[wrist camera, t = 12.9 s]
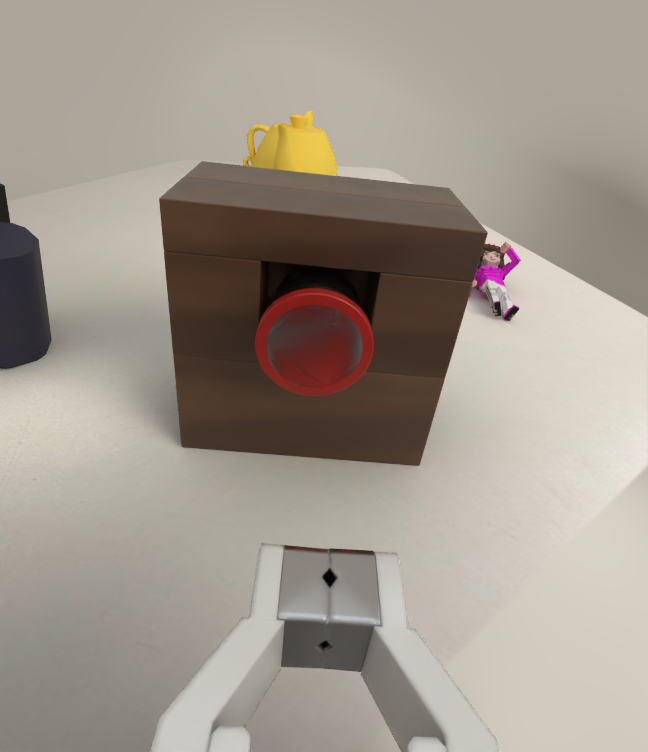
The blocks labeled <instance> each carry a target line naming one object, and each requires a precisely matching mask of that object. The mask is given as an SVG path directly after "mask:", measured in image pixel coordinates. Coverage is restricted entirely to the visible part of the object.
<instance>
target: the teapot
mask: <svg viewBox="0 0 648 752" xmlns="http://www.w3.org/2000/svg"><path fill="white" fill-rule="evenodd" d="M290 120H291V124H287V123H281V124H273V125H272V126H271V127H270V128H269V127H267V126H265V125H262V124H259V125H255V126H253V127H252V128H250V130H249V131H248V134H247V143H248V149H249V153H250V157H249V156H248V157H246V158H245V159H244V161H243V166H249V167H258V168H267V169H277V170H286V171H295V172H304V173H313V174H323V175H332V176H337V166H336V160H335V156H334V153H333V150H332V147H331V145H330V143H329V140H328V138H327V136H326V134H325V132H324V131H323V130H322V129H320V128H317V127H313V112H311V111H308V112H307V113H306V114H305V116H304V115H296V114H292V115H290ZM257 130H261V131H264V132H266V135H265V136H264V138H263V140H262V141H261V144H260V145H259V147H258V149H257V152H255V148H254V141H253V136H254V132H255V131H257ZM249 160H250V161H251V163H252V165H251V166H250V165H249V164H248V161H249Z"/></svg>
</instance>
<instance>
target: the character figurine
mask: <svg viewBox="0 0 648 752" xmlns="http://www.w3.org/2000/svg"><path fill="white" fill-rule="evenodd" d="M505 253H507V255H508V256H509V258H510V259H511V260H512V262H511V263H510V262H509V263H507V264H506V265H504V255H505ZM519 261H521V260H520V259H519V257H518V256H517V255H516V253H515V252H514V250H513V249H512V248H511V246H510V245H509V244H508V243H506V242H505V243H504V244H503V245H502V246H501V248H500V247H499V246H495V245H490V244H484V247H483V251H482V254H481V257H480V261H479V264H478V268H477V271H476V274H475V278H474V281H472V282H473V284H472V287H475V286H476V285H477V284H478V285H480V286H479V288H480V290H482V292H485V293H486V294H487V296H488V299H489V301H490V305H491V308H492V309H493V313H494V314H495V317H496V316H501V311H503V315H504V318H505V319H507V320H509V321H510V320H511V318H512V317H513V316H514V315H515V314H516V313H517V311H518V310H519V307H517V306H515V305H513V306H512V304H511V299H510V298H509V293H508V292H507V290H506V287H505V285H504V283H503V280H504V278H505V276H506V275H507V274H508V273H509V272H510V271H511V270H512V269H513V268H514V267H515V266H516V265H517V264H518V263H519Z"/></svg>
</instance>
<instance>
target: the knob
mask: <svg viewBox="0 0 648 752" xmlns="http://www.w3.org/2000/svg"><path fill="white" fill-rule="evenodd" d="M255 351H256V356H257V359H258V361H259V363H260V365H261V367H262V369H263V370H264V372H265V373H266V374H267V375H268V376H269V377H270V379H272V380H273V381H274V382H275V383H276V384H278V385H279V386H281V387H283V388H285V389H287V390H289V391H291V392H294V393H298V394H302V395H308V396H322V395H329V394H333V393H336V392H339V391H341V390H344V389H346V388H347V387H349V386H351V385H352V384H354V383H355V382H356V381H357V380H358V379H359V378H360V377H361V376H362V375H363V374H364V373H365V371H366V370H367V368H368V366H369V364H370V362H371V360H372V356H373V351H374V339H373V333H372V328H371V325H370V322H369V320H368V318H367V316H366V315H365V313H364V312H363V311H362V309H361V308H360V301H359V297H358V294H357V291H356V290H355V288H354V286H353V285H352V283H351V282H350V281H349V280H348V279H347V278H346V277H344V276H343V275H342V274H340V273H338V272H336V271H334V270H332V269H328V268H323V267H308V268H303V269H300V270H297V271H295V272H293V273H291V274H290V275H289V276H287V277H286V278H285V279H284V280H283V281H282V282H281V283H280V285H279V286H278V288H277V289H276V292H275V294H274V298H273V302H272V304H271V305H270V306H269V307H268V308H267V309H266V311H265V312H264V314H263V315H262V317H261V319H260V321H259V324H258V327H257V331H256V335H255Z"/></svg>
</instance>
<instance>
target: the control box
mask: <svg viewBox="0 0 648 752" xmlns="http://www.w3.org/2000/svg"><path fill="white" fill-rule="evenodd" d="M159 201H160V212H161V223H162V235H163V246H164V258H165V269H166V280H167V291H168V302H169V313H170V324H171V335H172V346H173V354H174V355H173V357H174V368H175V379H176V390H177V401H178V412H179V423H180V435H181V445H182V447H192V448H205V449H217V450H230V451H243V452H255V453H268V454H280V455H293V456H305V457H318V458H331V459H343V460H356V461H368V462H381V463H393V464H406V465H420V462H421V458H422V455H423V451H424V448H425V445H426V441H427V438H428V434H429V431H430V427H431V424H432V421H433V417H434V414H435V410H436V407H437V404H438V400H439V397H440V393H441V390H442V387H443V383H444V380H445V379H444V378H445V376H446V373H447V370H448V366H449V363H450V359H451V356H452V352H453V349H454V346H455V342H456V339H457V335H458V332H459V329H460V325H461V322H462V318H463V315H464V312H465V308H466V305H467V301H468V298H469V295H470V291H471V288H472V284H473V282H472V281H474V278H475V274H476V271H477V268H478V264H479V261H480V257H481V254H482V251H483V247H484V244H485V240H486V237H487V234H488V233H487V231H486V230H485V229H484V228H483V227H482V225H481V224H480V223H479V222H478V221H477V220H476V219H475V217H474V216H473V215H472V214H471V213H470V212H469V210H468V209H467V208H466V207H465V206H464V205H463V204H462V203H461V201H460V200H459V199H458V198H457V197H456V196H455V194H454V193H453V192H452V191H451V190H450V189H449V188H442V187H433V186H424V185H415V184H406V183H396V182H387V181H378V180H369V179H360V178H350V177H341V176H332V175H323V174H313V173H304V172H295V171H286V170H277V169H267V168H258V167H249V166H240V165H230V164H221V163H212V162H203V161H202V162H201V163H199V164H198V165H197V166H196V167H195V168H194V169H193V170H191V171H190V172H189V173H188V174H187V175H186V176H185V177H183V178H182V179H181V180H180V181H179V182H177V183H176V184H175V185H174V186H173V187H172V188H171V189H170V190H168V191H167V192H166V193H165V194H164V195H163V196H162V197H160V199H159ZM308 267H323V268H328V269H332V270H334V271H336V272H338V273H340V274H342V275H343V276H344V277H346V278H347V279H348V280H349V281H350V282H351V283H352V285H353V286H354V288H355V290H356V291H357V294H358V297H359V301H360V308H361V309H362V311H363V312H364V313H365V315H366V316H367V318H368V320H369V322H370V325H371V328H372V333H373V339H374V351H373V356H372V360H371V362H370V364H369V366H368V368H367V370H366V371H365V373H364V374H363V375H362V376H361V377H360V378H359V379H358V380H357V381H356V382H355V383H354V384H352V385H351V386H349V387H347V388H346V389H344V390H341V391H339V392H336V393H333V394H329V395H322V396H308V395H302V394H298V393H294V392H291V391H289V390H287V389H285V388H283V387H281V386H279V385H278V384H276V383H275V382H274V381H273V380H272V379H270V377H269V376H268V375H267V374H266V373H265V372H264V370H263V369H262V367H261V365H260V363H259V361H258V359H257V356H256V351H255V335H256V331H257V327H258V324H259V321H260V319H261V317H262V315H263V314H264V312H265V311H266V309H267V308H268V307H269V306H270V305H271V304H272V302H273V298H274V294H275V292H276V289H277V288H278V286H279V285H280V283H281V282H282V281H283V280H284V279H285V278H286V277H287V276H289V275H290V274H291V273H293V272H295V271H297V270H300V269H303V268H308Z"/></svg>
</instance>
